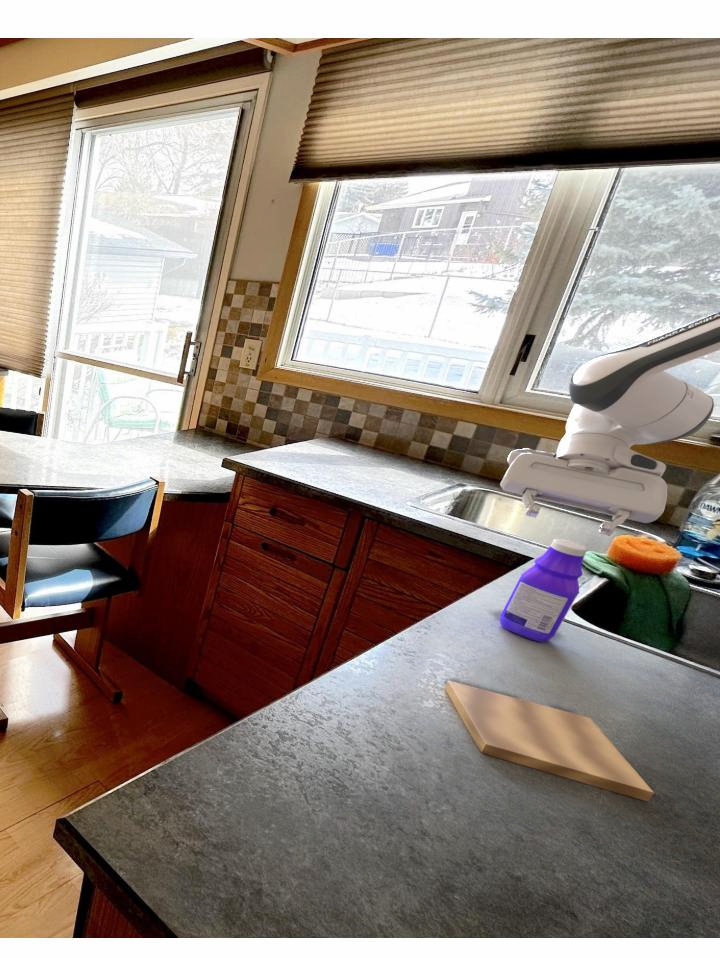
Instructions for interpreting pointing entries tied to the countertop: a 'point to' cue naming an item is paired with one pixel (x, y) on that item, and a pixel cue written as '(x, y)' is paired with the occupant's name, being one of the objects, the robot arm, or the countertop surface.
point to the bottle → (545, 592)
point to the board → (545, 740)
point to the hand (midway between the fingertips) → (567, 523)
